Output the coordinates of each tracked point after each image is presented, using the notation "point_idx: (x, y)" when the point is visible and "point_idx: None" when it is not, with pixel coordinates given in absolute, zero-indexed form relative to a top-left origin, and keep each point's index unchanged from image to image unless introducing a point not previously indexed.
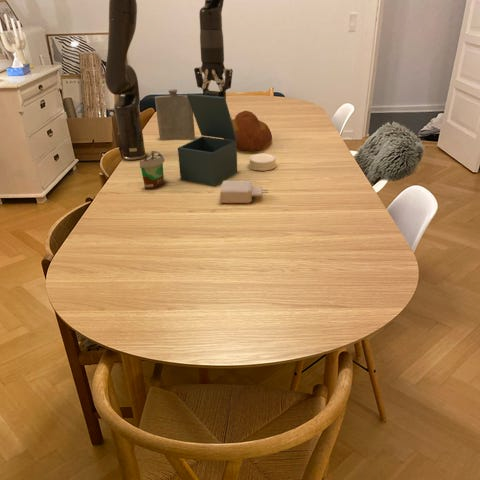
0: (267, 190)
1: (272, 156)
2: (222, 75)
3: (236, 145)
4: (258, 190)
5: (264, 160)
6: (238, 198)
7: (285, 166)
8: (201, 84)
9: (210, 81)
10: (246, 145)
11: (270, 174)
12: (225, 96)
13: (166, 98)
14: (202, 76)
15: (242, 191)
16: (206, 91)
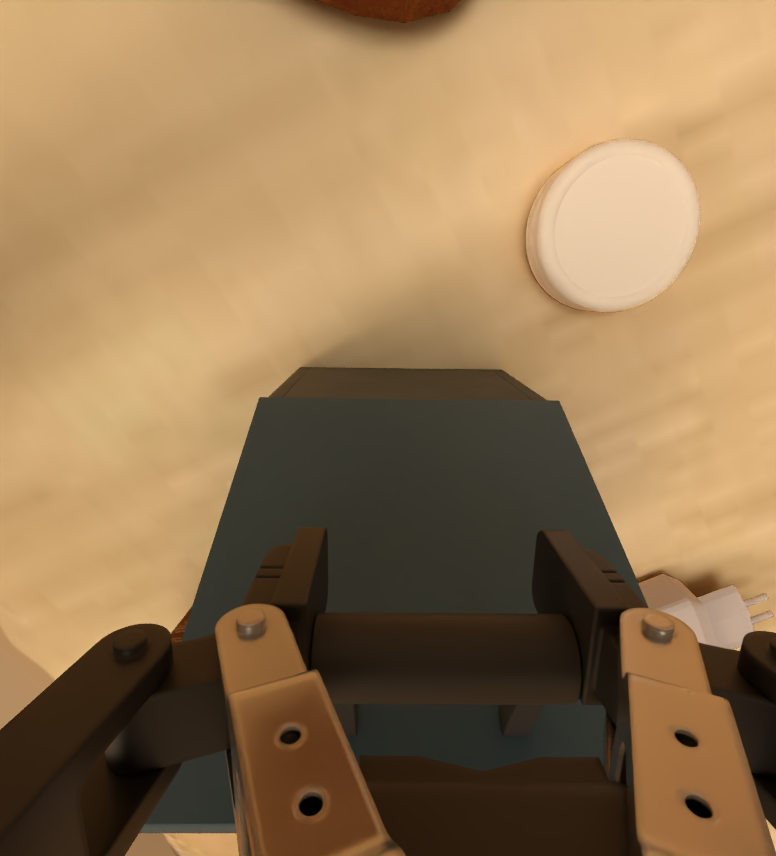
0: (764, 600)
1: (672, 176)
2: (766, 835)
3: (544, 399)
4: (741, 640)
5: (647, 270)
6: None
7: (721, 170)
8: (183, 757)
9: (320, 692)
10: (414, 7)
11: (675, 327)
12: (621, 588)
13: None
14: (39, 796)
15: None
16: (334, 701)
